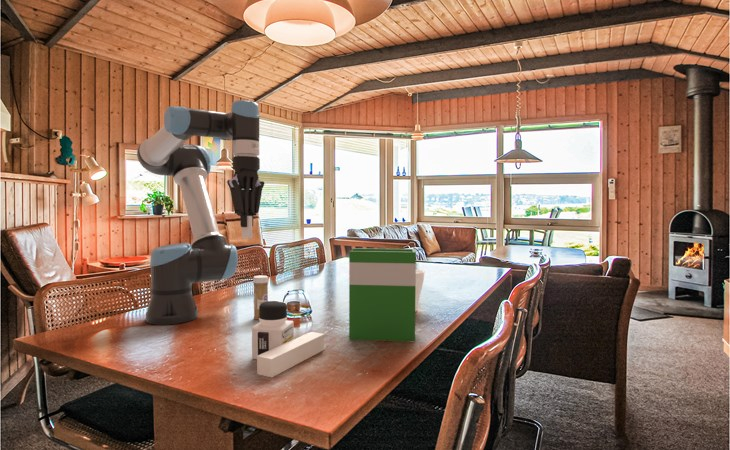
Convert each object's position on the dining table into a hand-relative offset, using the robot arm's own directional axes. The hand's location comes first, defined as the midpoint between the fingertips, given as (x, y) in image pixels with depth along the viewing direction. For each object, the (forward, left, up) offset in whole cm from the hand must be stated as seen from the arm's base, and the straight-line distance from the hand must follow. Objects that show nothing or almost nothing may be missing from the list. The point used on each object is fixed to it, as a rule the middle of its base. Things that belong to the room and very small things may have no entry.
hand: (247, 238), depth 129 cm
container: (+21, -14, -27) cm, 37 cm away
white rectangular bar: (+28, -15, -26) cm, 41 cm away
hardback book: (+38, +12, -27) cm, 48 cm away
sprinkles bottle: (-4, +10, -27) cm, 29 cm away
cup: (+33, +42, -27) cm, 60 cm away
